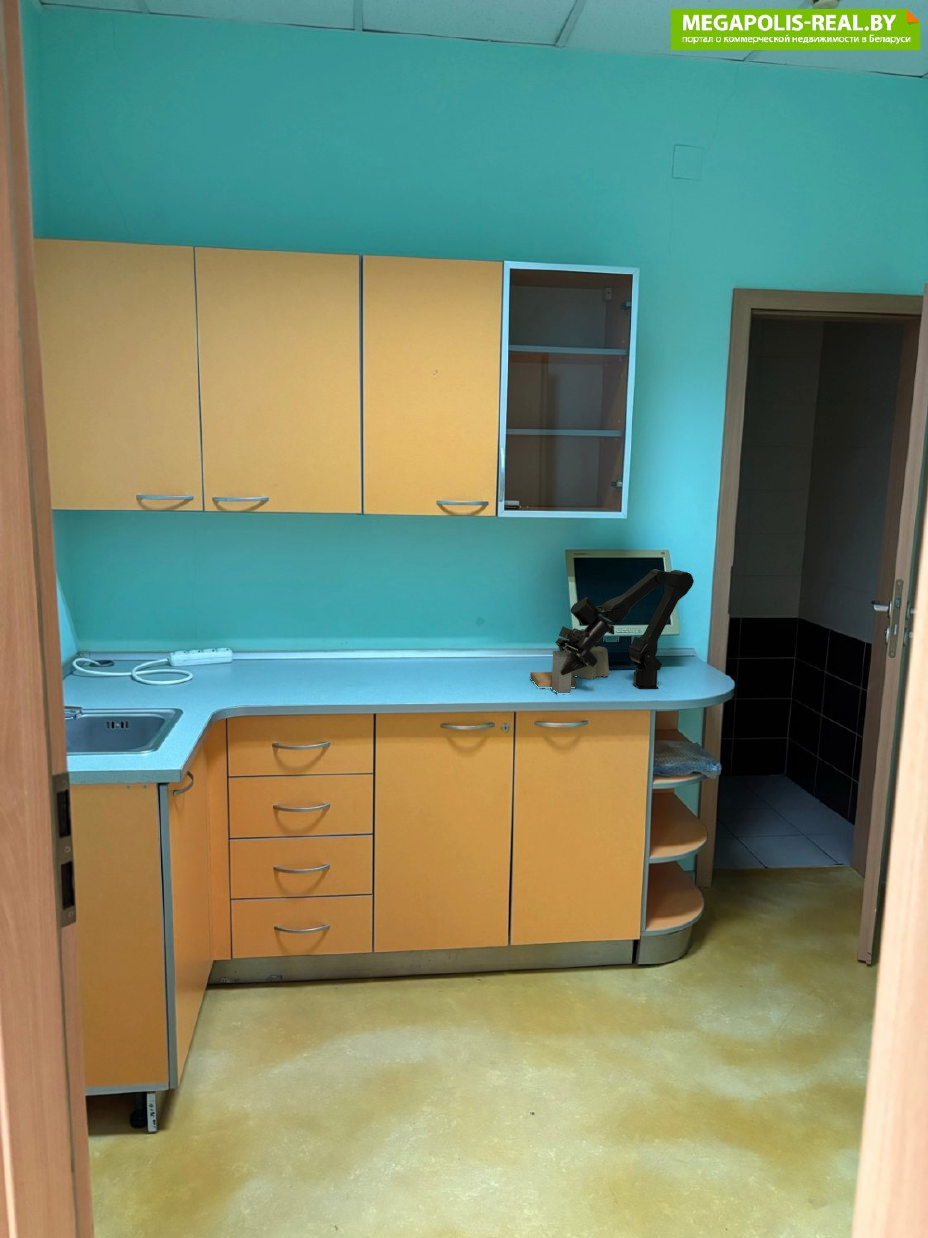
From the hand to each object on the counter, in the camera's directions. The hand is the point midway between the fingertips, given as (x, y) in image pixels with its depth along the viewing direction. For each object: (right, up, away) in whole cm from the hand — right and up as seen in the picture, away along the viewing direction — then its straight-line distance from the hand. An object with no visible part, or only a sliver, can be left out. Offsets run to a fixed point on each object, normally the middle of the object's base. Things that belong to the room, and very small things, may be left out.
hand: (557, 672), depth 285 cm
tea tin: (+1, -6, +2) cm, 7 cm away
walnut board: (0, -4, +12) cm, 13 cm away
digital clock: (+11, -3, +25) cm, 28 cm away
